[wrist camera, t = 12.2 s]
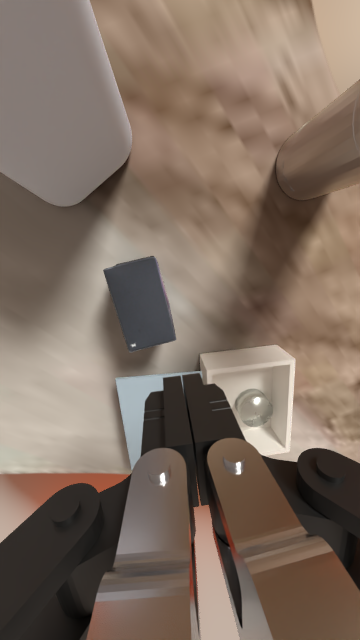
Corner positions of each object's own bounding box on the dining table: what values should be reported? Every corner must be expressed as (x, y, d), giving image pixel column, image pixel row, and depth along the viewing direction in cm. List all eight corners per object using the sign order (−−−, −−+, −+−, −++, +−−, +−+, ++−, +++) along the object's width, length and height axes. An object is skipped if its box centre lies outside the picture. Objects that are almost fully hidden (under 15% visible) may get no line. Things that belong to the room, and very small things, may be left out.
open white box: (276, 344, 43) (295, 358, 37) (273, 427, 48) (289, 451, 43) (199, 353, 42) (206, 370, 36) (204, 438, 47) (211, 464, 41)
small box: (172, 318, 40) (179, 342, 30) (133, 328, 40) (127, 355, 30) (156, 254, 37) (157, 255, 27) (114, 264, 36) (99, 269, 26)
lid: (115, 379, 36) (116, 377, 37) (131, 470, 41) (132, 467, 42) (201, 372, 36) (201, 370, 37) (207, 464, 41) (207, 462, 42)
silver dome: (258, 382, 45) (265, 392, 42) (270, 406, 46) (278, 416, 43) (229, 398, 45) (234, 408, 42) (242, 421, 47) (248, 432, 44)
